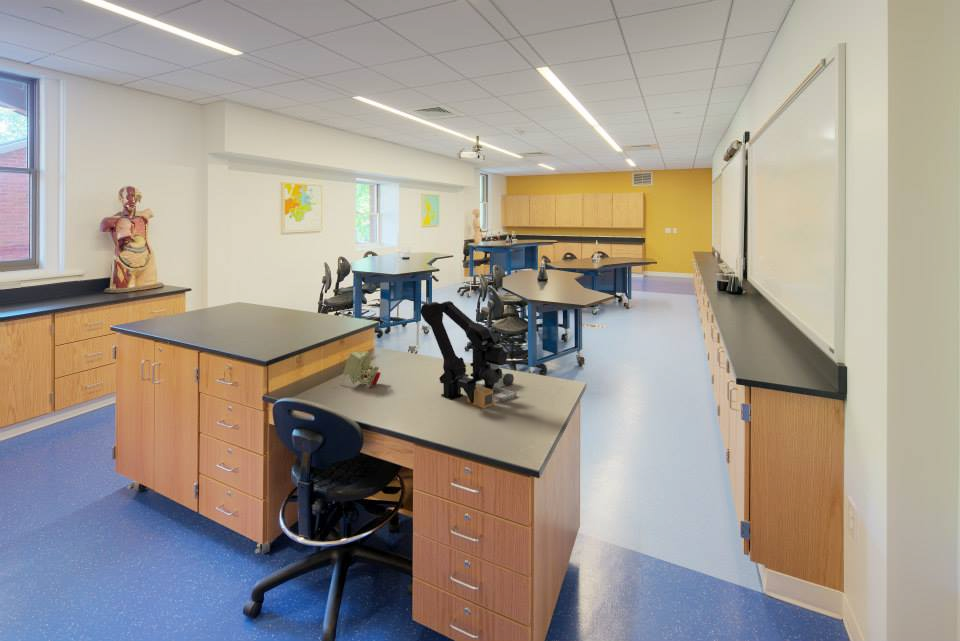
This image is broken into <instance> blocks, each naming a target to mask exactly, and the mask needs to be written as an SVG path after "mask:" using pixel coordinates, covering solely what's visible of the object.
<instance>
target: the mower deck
mask: <svg viewBox="0 0 960 641" xmlns="http://www.w3.org/2000/svg"><path fill="white" fill-rule="evenodd" d="M490 365H491V369H495V370H496V369H498V368H500V365H496V364H491V363H490ZM464 377H468V378H471V379H472V378H473V377H471V376H470V375H469V374H468V373H467V374H466V373H465V375H464ZM464 377H463V378H464ZM514 380H515V376H514V375H513V374H512V373H507V372H504V371H502V378H501V379H499V381H498V383H495V384H494V386H497V387H500V388H503V387H504V385H505V386H509V385H510V386H511V385H512V384H513V383H514ZM476 385H479V386H482V387H485V382H484V380H482V381H479V382H477V383H476ZM492 390H493V389H492ZM493 391H494V390H493Z"/></svg>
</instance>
